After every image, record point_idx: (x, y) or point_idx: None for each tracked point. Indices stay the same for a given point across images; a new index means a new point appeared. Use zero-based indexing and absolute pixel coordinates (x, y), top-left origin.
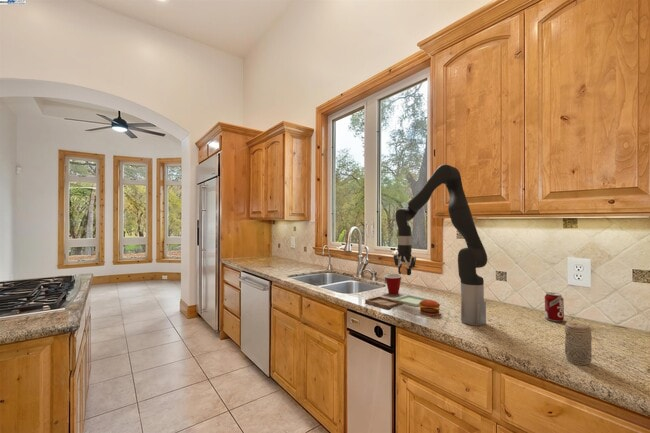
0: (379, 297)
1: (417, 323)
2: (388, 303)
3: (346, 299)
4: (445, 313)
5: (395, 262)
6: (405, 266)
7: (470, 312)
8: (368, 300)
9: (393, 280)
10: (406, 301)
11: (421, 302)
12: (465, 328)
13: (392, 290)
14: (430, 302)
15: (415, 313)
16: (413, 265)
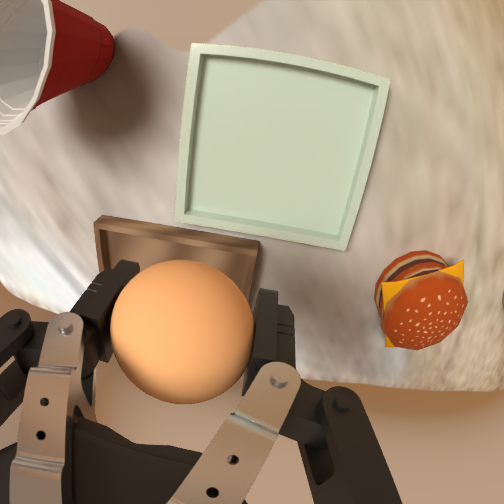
0: (102, 227)
1: (382, 383)
2: None
3: (43, 297)
4: (469, 245)
5: (15, 387)
6: (193, 400)
7: None
8: None
9: (40, 100)
10: (249, 175)
11: (394, 340)
12: (496, 340)
13: (79, 84)
14: (435, 341)
15: (359, 317)
16: (346, 428)
